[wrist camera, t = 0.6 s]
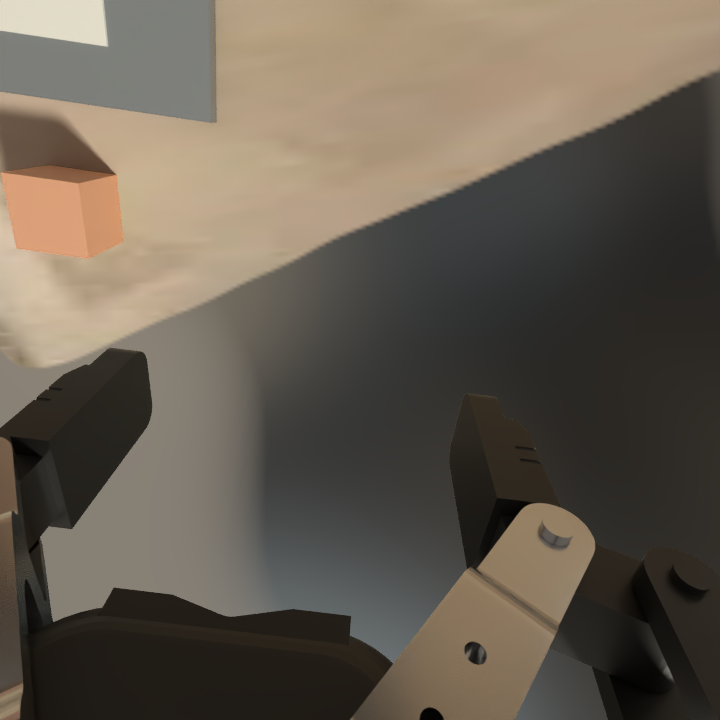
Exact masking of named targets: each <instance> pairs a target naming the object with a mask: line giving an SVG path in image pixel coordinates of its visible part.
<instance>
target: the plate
mask: <svg viewBox="0 0 720 720" xmlns="http://www.w3.org/2000/svg"><path fill="white" fill-rule="evenodd" d="M0 92H7V93H13V94H20V95H27V96H34V97H40V98H47V99H54V100H61V101H67V102H74V103H81V104H88V105H95V106H101V107H108V108H115V109H122V110H128V111H135V112H142V113H149V114H155V115H162V116H169V117H176V118H182V119H189V120H196V121H203V122H210V123H214V122H216V40H215V0H0Z"/></svg>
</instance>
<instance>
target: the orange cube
mask: <svg viewBox="0 0 720 720" xmlns="http://www.w3.org/2000/svg"><path fill="white" fill-rule="evenodd" d="M1 176H2V181H3V186H4V190H5V195H6V200H7V205H8V209H9V214H10V219H11V224H12V228H13V233H14V238H15V243H16V247H17V249H24V250H31V251H38V252H45V253H52V254H59V255H66V256H73V257H80V258H87V259H89V258H91V257H93V256H95V255H97V254H99V253H101V252H104V251H106V250H108V249H110V248H112V247H114V246H116V245H118V244H120V243H122V242H123V232H122V223H121V213H120V204H119V194H118V185H117V175H114V174H107V173H100V172H93V171H87V170H80V169H73V168H66V167H59V166H52V165H46V166H39V167H32V168H26V169H19V170H12V171H6V172H1Z"/></svg>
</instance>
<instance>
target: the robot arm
mask: <svg viewBox="0 0 720 720" xmlns="http://www.w3.org/2000/svg"><path fill="white" fill-rule="evenodd" d="M151 413H152V398H151V390H150V382H149V373H148V365H147V359H146V356H145V354H144V353H143V352H140V351H132V350H124V349H116V348H109V349H107V350H106V351H105V352H104V353H103V354H102V355H100V356H99V357H98V358H97V359H96V360H95V361H94V362H93V363H92V364H90V365H83V366H81V367H79V368H77V369H75V370H72V371H70V372H68V373H66V374H64V375H63V376H61V377H60V378H59V379H58V380H57V381H56V382H54V383H53V384H52V385H51V386H50V387H49V390H45V391H44V392H43V393H41V394H40V395H39V396H38V397H37V399H36V400H33V401H32V402H31V403H29V404H28V405H27V406H26V407H25V408H24V409H22V410H21V411H20V412H19V413H18V414H17V415H15V416H14V417H13V418H12V419H11V420H9V421H8V422H7V423H6V424H5V425H3V426H2V427H1V428H0V720H514V719H515V717H516V715H517V713H518V711H519V709H520V707H521V705H522V703H523V700H524V699H525V697H526V694H527V692H528V690H529V688H530V686H531V684H532V682H533V680H534V678H535V676H536V674H537V672H538V670H539V668H540V665H541V664H542V662H543V659H544V657H545V655H546V653H547V651H548V649H549V648H552V649H554V650H556V651H558V652H561V653H563V654H565V655H567V656H570V657H572V658H574V659H576V660H579V661H581V662H583V663H585V664H588V665H590V666H592V669H593V672H594V675H595V679H596V682H597V685H598V688H599V692H600V695H601V698H602V702H603V705H604V708H605V711H606V714H607V718H608V720H720V576H719V575H718V574H717V573H716V572H715V571H714V570H713V569H711V568H710V567H709V566H707V565H706V564H705V563H703V562H702V561H700V560H699V559H697V558H695V557H693V556H692V555H689V554H687V553H685V552H683V551H679V550H677V549H672V548H666V547H657V548H653V549H651V550H649V551H648V552H647V554H646V555H645V556H644V558H643V560H642V561H638V560H636V559H633V558H631V557H628V556H625V555H623V554H620V553H617V552H615V551H612V550H609V549H607V548H604V547H601V546H600V545H597V544H596V543H595V542H594V538H593V536H592V534H591V532H590V531H589V529H588V528H587V527H586V525H585V524H584V523H583V522H582V521H581V520H580V519H578V518H577V517H576V516H574V515H573V514H571V513H570V512H568V511H566V510H564V509H562V508H561V507H560V504H559V502H558V499H557V497H556V495H555V492H554V490H553V488H552V485H551V483H550V481H549V478H548V476H547V474H546V471H545V469H544V467H543V464H541V460H540V457H539V455H538V453H537V452H536V448H535V445H534V443H533V441H532V438H531V436H530V434H529V433H528V432H527V431H526V430H525V429H524V428H523V427H522V425H520V423H519V422H517V420H516V419H508V418H504V415H503V412H502V410H501V407H500V404H499V402H498V399H497V398H496V397H492V396H484V395H475V394H468V393H467V394H465V395H464V397H463V400H462V403H461V407H460V411H459V414H458V418H457V422H456V426H455V429H454V433H453V437H452V441H451V445H450V453H449V464H450V465H449V466H450V472H451V478H452V484H453V489H454V496H455V501H456V507H457V513H458V519H459V525H460V530H461V537H462V543H463V549H464V554H465V560H466V566H467V570H466V571H465V572H464V574H463V575H462V576H461V577H460V579H459V580H458V581H457V582H456V584H455V585H454V586H453V588H452V589H451V590H450V592H449V593H448V594H447V595H446V597H445V598H444V599H443V601H442V602H441V603H440V605H439V606H438V607H437V608H436V610H435V611H434V612H433V613H432V615H431V616H430V617H429V619H428V620H427V621H426V622H425V624H424V625H423V626H422V628H421V629H420V630H419V631H418V633H417V634H416V635H415V637H414V638H413V639H412V641H411V642H410V643H409V644H408V646H407V647H406V648H405V650H404V651H403V652H402V653H401V655H400V656H399V657H398V659H397V660H396V661H395V662H394V664H393V663H392V662H391V661H390V660H389V659H388V658H386V657H385V656H384V655H383V654H381V653H380V652H379V651H377V650H376V649H374V648H373V647H371V646H370V645H368V644H366V643H364V642H363V641H361V640H359V639H356V638H354V637H352V636H350V621H351V616H345V615H337V614H329V613H320V612H312V611H303V610H295V609H291V610H283V611H275V612H267V613H260V614H252V615H244V616H236V617H227V616H223V615H220V614H218V613H216V612H213V611H211V610H208V609H206V608H203V607H201V606H198V605H196V604H194V603H191V602H189V601H186V600H184V599H181V598H179V597H177V596H174V595H170V594H161V593H154V592H145V591H137V590H129V589H120V588H113V590H112V592H111V594H110V596H109V597H108V599H107V601H106V603H105V604H104V606H103V608H97V609H92V610H88V611H84V612H80V613H77V614H74V615H71V616H68V617H65V618H62V619H60V620H58V621H55V622H53V618H52V613H51V605H50V597H49V589H48V582H47V574H46V566H45V558H44V551H43V545H42V541H41V538H40V536H41V535H42V534H43V533H44V531H45V530H46V529H47V528H48V526H51V527H59V528H68V529H72V528H73V527H74V525H75V524H76V523H77V521H78V520H79V519H80V517H81V516H82V515H83V513H84V512H85V511H86V509H87V508H88V506H89V505H90V504H91V502H92V501H93V500H94V498H95V497H96V496H97V494H98V493H99V492H100V490H101V489H102V487H103V486H104V485H105V483H106V482H107V481H108V479H109V478H110V477H111V475H112V474H113V472H114V471H115V470H116V468H117V467H118V466H119V464H120V463H121V462H122V460H123V459H124V458H125V456H126V455H127V454H128V452H129V451H130V449H131V448H132V447H133V445H134V444H135V443H136V441H137V440H138V438H139V437H140V436H141V435H142V433H143V432H144V430H145V429H146V428H147V426H148V424H149V421H150V417H151Z"/></svg>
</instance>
